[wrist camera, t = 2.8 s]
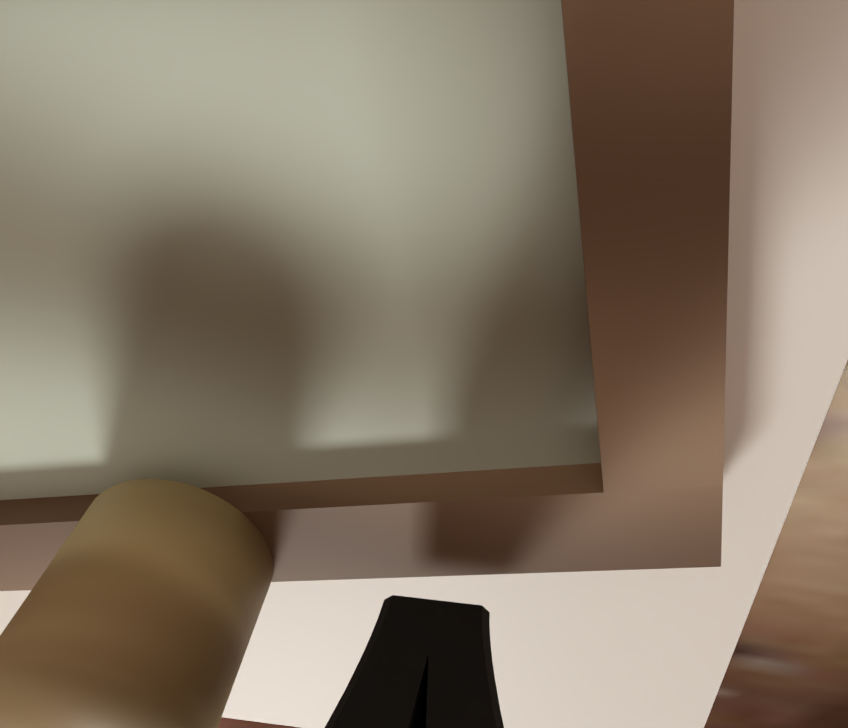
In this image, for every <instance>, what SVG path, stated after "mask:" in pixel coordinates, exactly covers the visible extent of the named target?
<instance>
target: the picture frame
mask: <svg viewBox="0 0 848 728" xmlns="http://www.w3.org/2000/svg"><path fill="white" fill-rule="evenodd" d="M733 28H734V0H0V591H21V590H31V592H30V593H29V595H28V596H27V597H26V599H25V600H24V602H23V603H22V605H21V606H20V608H19V609H18V610H17V612H16V613H15V615H14V616H13V618H12V619H11V621H10V622H9V623H8V625H7V626H6V628H5V629H4V631H3V632H2V634H1V635H0V728H218V725H219V722H220V720H221V717H222V714H223V712H224V709H225V706H226V703H227V701H228V698H229V695H230V693H231V690H232V687H233V684H234V682H235V679H236V676H237V673H238V671H239V668H240V665H241V663H242V660H243V657H244V654H245V652H246V649H247V646H248V644H249V641H250V638H251V635H252V633H253V630H254V627H255V625H256V622H257V619H258V616H259V614H260V611H261V608H262V606H263V603H264V600H265V597H266V595H267V592H268V589H269V587H270V584H271V582H286V581H315V580H345V579H374V578H404V577H433V576H463V575H492V574H522V573H551V572H580V571H610V570H639V569H669V568H698V567H721V545H722V502H723V459H724V416H725V373H726V329H727V286H728V243H729V200H730V157H731V114H732V71H733Z"/></svg>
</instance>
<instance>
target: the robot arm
mask: <svg viewBox="0 0 848 728" xmlns="http://www.w3.org/2000/svg"><path fill="white" fill-rule="evenodd" d="M489 618H490V612H489V611H488V610H487V609H485V608H484V607H483V606H482V605H474V604H465V603H457V602H448V601H439V600H431V599H422V598H414V597H405V596H396V595H392V596H390V597H388V598H386V599H385V600H384V602H383V605H382V608H381V611H380V614H379V617H378V619H377V622H376V624H375V627H374V629H373V632H372V634H371V637H370V639H369V641H368V643H367V646H366V648H365V650H364V652H363V654H362V657H361V659H360V661H359V663H358V665H357V667H356V669H355V671H354V673H353V675H352V677H351V679H350V681H349V683H348V685H347V687H346V689H345V691H344V693H343V695H342V697H341V699H340V700H339V702H338V704H337V706H336V708H335V710H334V711H333V713H332V715H331V717H330V719H329V721H328V722H327V724H326V726H325V728H504V725H503V720H502V716H501V711H500V705H499V700H498V694H497V688H496V682H495V676H494V669H493V662H492V653H491V642H490V624H489Z"/></svg>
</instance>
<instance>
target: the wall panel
mask: <svg viewBox="0 0 848 728" xmlns="http://www.w3.org/2000/svg"><path fill="white" fill-rule="evenodd" d="M847 360H848V0H734V28H733V71H732V114H731V157H730V200H729V243H728V286H727V329H726V373H725V416H724V459H723V502H722V545H721V567H698V568H669V569H639V570H610V571H580V572H551V573H522V574H492V575H463V576H433V577H404V578H374V579H345V580H315V581H286V582H271V584H270V587H269V589H268V592H267V595H266V597H265V600H264V603H263V606H262V608H261V611H260V614H259V616H258V619H257V622H256V625H255V627H254V630H253V633H252V635H251V638H250V641H249V644H248V646H247V649H246V652H245V654H244V657H243V660H242V663H241V665H240V668H239V671H238V673H237V676H236V679H235V682H234V684H233V687H232V690H231V693H230V695H229V698H228V701H227V703H226V706H225V709H224V712H223V714H222V717H225V718H233V719H240V720H248V721H255V722H263V723H271V724H278V725H286V726H293V727H301V728H325V726H326V724H327V722H328V721H329V719H330V717H331V715H332V713H333V711H334V710H335V708H336V706H337V704H338V702H339V700H340V699H341V697H342V695H343V693H344V691H345V689H346V687H347V685H348V683H349V681H350V679H351V677H352V675H353V673H354V671H355V669H356V667H357V665H358V663H359V661H360V659H361V657H362V654H363V652H364V650H365V648H366V646H367V643H368V641H369V639H370V637H371V634H372V632H373V629H374V627H375V624H376V622H377V619H378V617H379V614H380V611H381V608H382V605H383V602H384V600H385V599H386V598H388V597H390V596H392V595H396V596H405V597H414V598H422V599H431V600H439V601H448V602H457V603H465V604H474V605H482V606H483V607H484V608H485V609H487V610H488V611H489V612H490V618H489V624H490V642H491V653H492V662H493V669H494V676H495V682H496V688H497V694H498V700H499V705H500V711H501V716H502V720H503V725H504V728H704V726H705V723H706V721H707V718H708V716H709V713H710V711H711V708H712V706H713V703H714V700H715V698H716V695H717V693H718V690H719V688H720V685H721V683H722V680H723V677H724V675H725V672H726V670H727V667H728V665H729V662H730V659H731V657H732V654H733V652H734V649H735V647H736V644H737V642H738V639H739V636H740V634H741V631H742V629H743V626H744V624H745V621H746V619H747V616H748V613H749V611H750V608H751V606H752V603H753V601H754V598H755V595H756V593H757V590H758V588H759V585H760V583H761V580H762V578H763V575H764V572H765V570H766V567H767V565H768V562H769V560H770V557H771V555H772V552H773V549H774V547H775V544H776V542H777V539H778V537H779V534H780V531H781V529H782V526H783V524H784V521H785V519H786V516H787V514H788V511H789V508H790V506H791V503H792V501H793V498H794V496H795V493H796V491H797V488H798V485H799V483H800V480H801V478H802V475H803V473H804V470H805V467H806V465H807V462H808V460H809V457H810V455H811V452H812V450H813V447H814V444H815V442H816V439H817V437H818V434H819V432H820V429H821V427H822V424H823V421H824V419H825V416H826V414H827V411H828V409H829V406H830V404H831V401H832V398H833V396H834V393H835V391H836V388H837V386H838V383H839V380H840V378H841V375H842V373H843V370H844V368H845V365H846V363H847ZM30 592H31V590H21V591H0V635H1V634H2V632H3V631H4V629H5V628H6V626H7V625H8V623H9V622H10V621H11V619H12V618H13V616H14V615H15V613H16V612H17V610H18V609H19V608H20V606H21V605H22V603H23V602H24V600H25V599H26V597H27V596H28V595H29V593H30Z"/></svg>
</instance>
